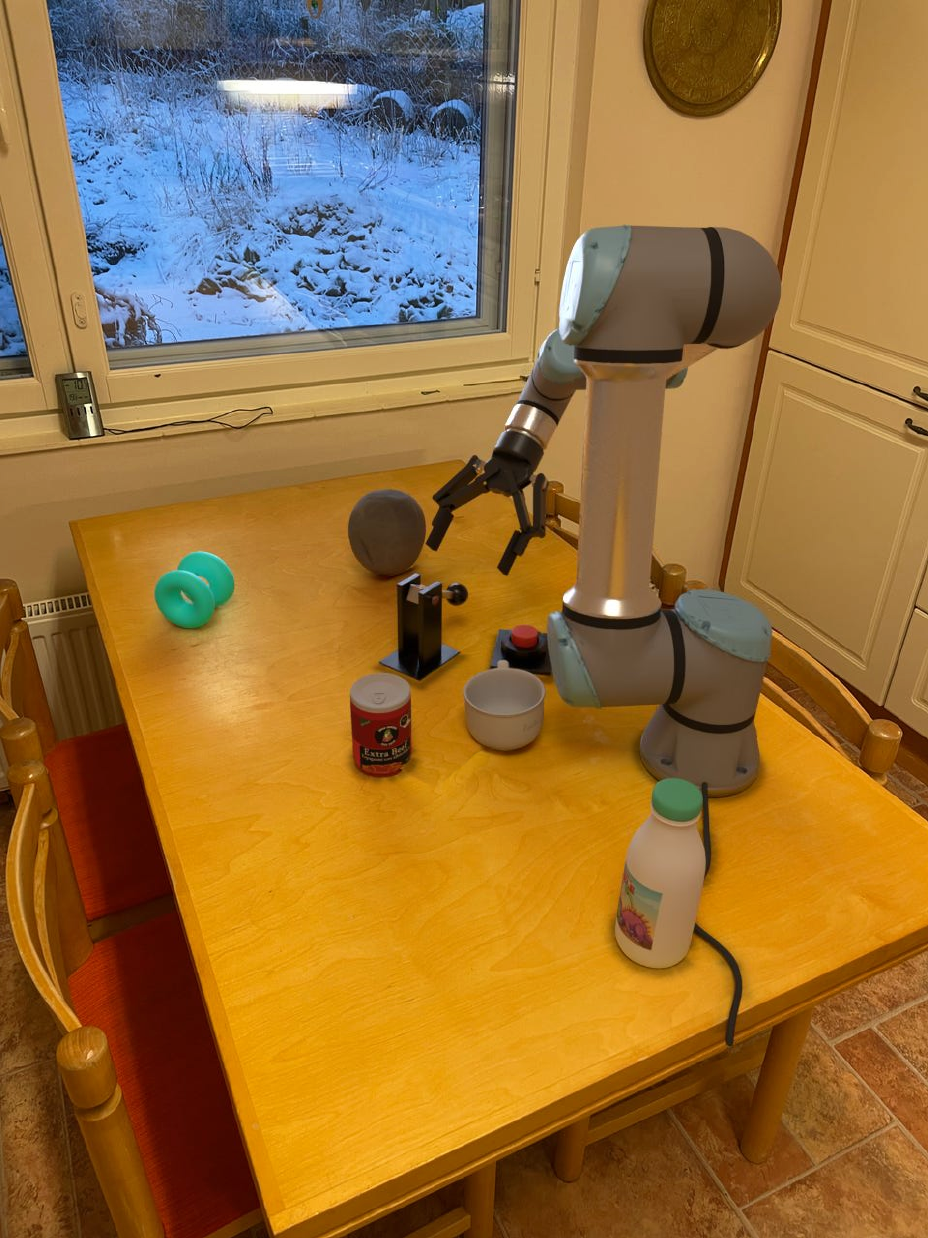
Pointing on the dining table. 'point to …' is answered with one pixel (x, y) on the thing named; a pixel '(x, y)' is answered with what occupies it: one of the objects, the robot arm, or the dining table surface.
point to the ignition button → (524, 636)
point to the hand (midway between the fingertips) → (465, 559)
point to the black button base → (522, 654)
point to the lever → (453, 593)
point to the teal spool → (194, 589)
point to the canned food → (381, 724)
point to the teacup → (504, 707)
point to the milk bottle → (663, 878)
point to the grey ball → (387, 531)
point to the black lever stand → (419, 632)
